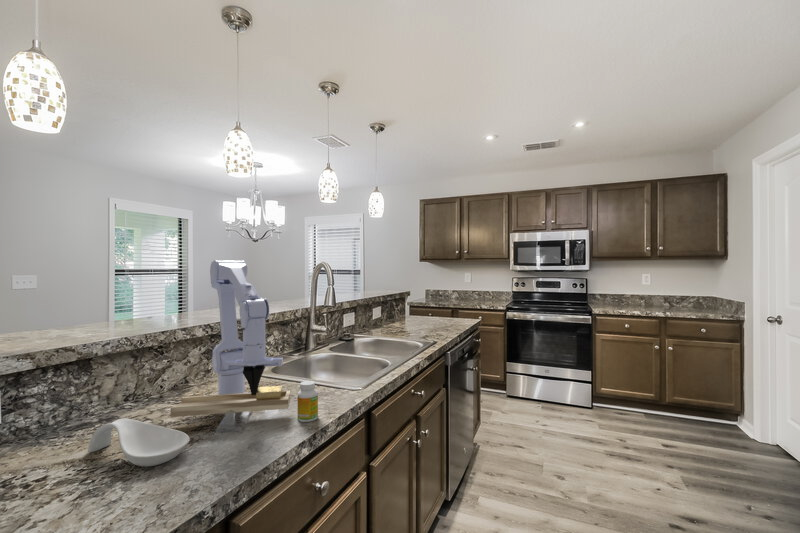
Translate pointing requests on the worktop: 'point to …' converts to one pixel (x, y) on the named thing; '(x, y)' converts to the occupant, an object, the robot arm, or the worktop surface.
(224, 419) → the stand
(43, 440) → the worktop surface
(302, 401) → the supplement bottle
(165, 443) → the spoon rest
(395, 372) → the worktop surface
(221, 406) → the beam
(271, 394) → the block
